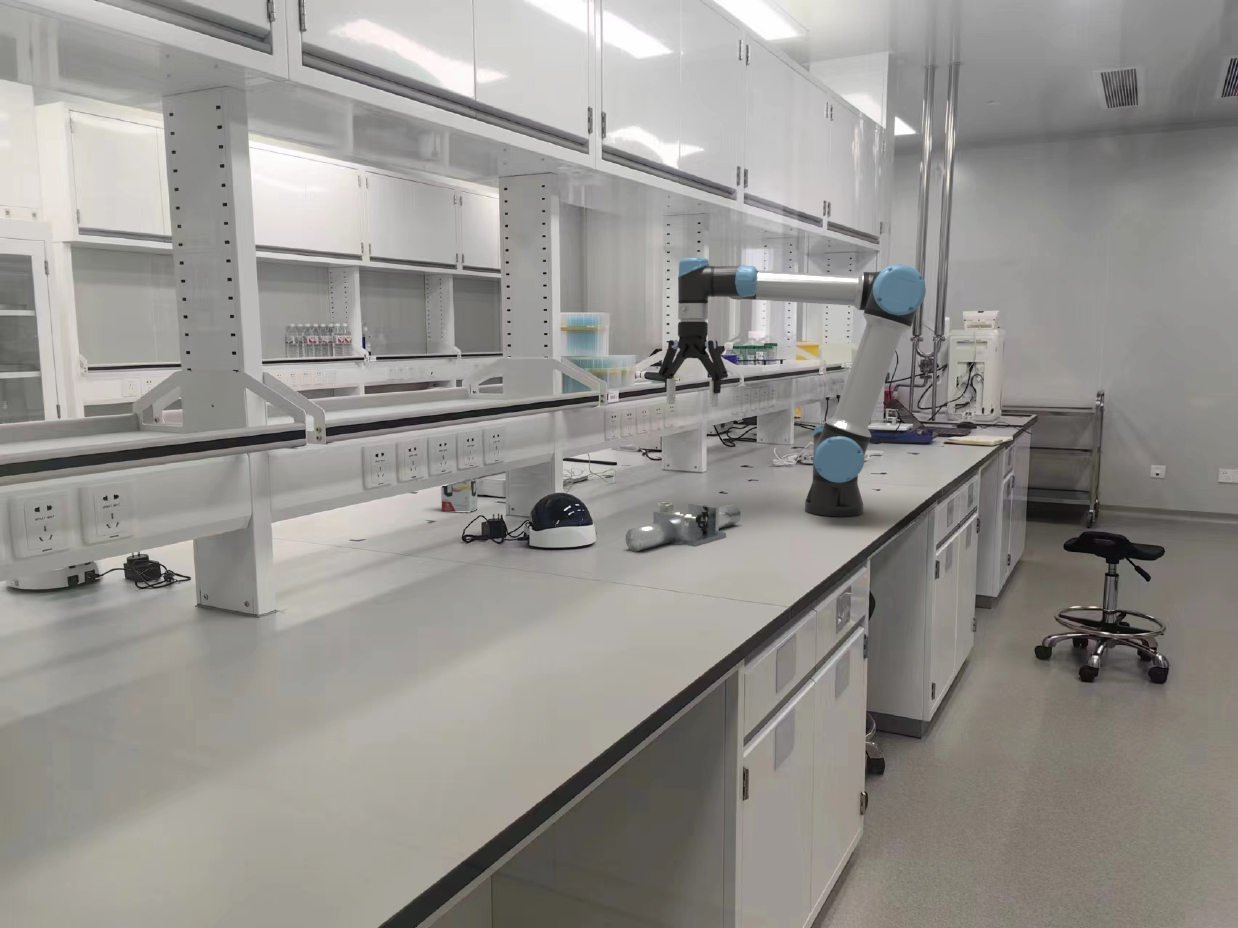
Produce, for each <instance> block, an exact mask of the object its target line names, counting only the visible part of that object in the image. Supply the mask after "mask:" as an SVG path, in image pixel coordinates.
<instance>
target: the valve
mask: <svg viewBox="0 0 1238 928" xmlns="http://www.w3.org/2000/svg"><path fill="white" fill-rule="evenodd" d="M702 505H703V508H704V510H702V512H701V513H699V515H696V517H692V515H689V514H685V515H684V514H682V511H676V512H673V511H674V504H673V503H672V502H668V501H665V502H664V501H663V502H662V501H661V502H657V503H656V511H660V512H666V513H671V514H677V515H683V516H685V520H684V522H685V523H687V524H688V523H691V522H692V521H696V523H698V527H699V528H701V531H702V532H703V533H707V528H708V519H709V515H708V511H709V508H708V506H709V505H708V504H702ZM707 505H708V506H707ZM700 523H701V524H703V526H701V525H700Z"/></svg>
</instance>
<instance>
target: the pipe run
mask: <svg viewBox="0 0 1238 928" xmlns="http://www.w3.org/2000/svg"><path fill="white" fill-rule="evenodd" d="M703 505H704V504H702V503H694V502H690V503H688V515H692V517H696V515H699V513H701V512H702V510H704V508H703ZM706 505H707V506H708V508H709V511H708V515H709V519H708V528H707V533H703V532H702V531H701V528H699V527H698V523H696V521H692V522H691V523H687V525H686V524H685V521H684V520H685V516H686V515H684V514H683V515H684V516H683V515H677V514H671V513H666V512H660V511H658V510H656V511H653V523H650V524H646V525H645V524H644V525H642V526H637V527H634V528H630V529H628V531H626V534H625V539H624V540H625V543H626V546H627V547H628V549H629V550H630V551H631V552H632V551H633V552H639V551H643V550H646V549H650V548H655V547H658V546H661V545H664V544H667V543H669V544H672V545H673V544H674V545H679V546H682V545H686V546H692V547H697V546H700V545H705V544H708V543H710V542H714V541H717V540H721V539H724V538H727V533H726V532H722V531H719V529H722V528H726V527H729V526H730V527H731V526H732V525H733V526H734V525H736V524H738V523H739V521H741V517H742V515H741V511H740V508H739V507H738V506H737V505H735V504H732V503H731V504H727V505H723V506H714V505H713V506H712V505H708V504H706ZM700 525H701V526H703V524H701V523H700Z"/></svg>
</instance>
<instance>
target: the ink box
mask: <svg viewBox="0 0 1238 928" xmlns="http://www.w3.org/2000/svg"><path fill="white" fill-rule="evenodd" d="M440 490H441V491H440V495H441V498H440V499H441V512H445V511H473V510H474V509H476V508H477V509H478V479H477V480H474V481H471V482H463V483H461V484H458V485H450V486H442V487H440Z"/></svg>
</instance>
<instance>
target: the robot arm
mask: <svg viewBox="0 0 1238 928" xmlns="http://www.w3.org/2000/svg"><path fill="white" fill-rule="evenodd" d="M677 280H678V281H677V284H678V285H677V287H678V288H677V290H678V292H677V297H678V298H677V299H678V301H677V303H678V305H677V306H678V309H677V311H678V312H677V320H679V322H678V323H677V336H678V340H677V339H670V340H669V341H668V346H667V350H666V353H665V355H664V358H663V360H662V363H661V365H660V368H659V370H658V374H657V375H658V376H661V377H662V378H664V390H665V391H666V405H675V404H676V385H677V384H676V383H677V382H676V378H675V375H676V373H677V372H678V371H679V369H680V368H681V366H682V365H683V364H684V362H685V360H687V359H698V360H699V361H700V362H701V364H702V365H703V367H704V369H705V370H706V371H707V373H708V375H709V376H710V378H711V380H709V395H708V396H709V397H708V401H709V403H708V407H709V408H715V407H719V394H721V388H722V387H721V386H722V385H721V384H722V380H724V379H727V378H728V377H729V374H728V371H727V370H726V369H727V368H726V366H725V364H724V362H723V361H724V360H723V358H722V355H721V353H720V351H719V345H718V340H716V339H715V340H708V341H707V337H708V334H709V332H708V331H709V330H708V329H709V323H708V322H707V320H708V319H709V298H710V297H712V298H715V297H717V298H718V297H720V298H722V297H725V298H727V297H728V298H729V299H732V300H737V301H738V300H750V301H753V300H754V301H755V300H757V301H772V302H786V303H787V302H789V303H791V302H792V303H805V304H821V305H838V306H853V307H854V308H856V310H857V311H863V314H862V315H863V317H864V319H865V323H866V325H865V327H864V329H863V333H862V336H861V338H860V342H859V344H858V348H857V349H856V353H855V355H854V358H853V361H852V364H851V367H850V369H849V373H848V375H847V379H846V381H845V384H844V387H843V390H842V391H841V395H840V398H839V401H838V404H837V407H836V410H835V412H834V415H833V416H832V417H830V418H829V419H827V420H825V422H824V424H821V425H820V424H819V425H816V426H815V427H814V431H813V434H812V437H813V450H812V451H813V453H812V454H813V455H812V457H813V458H812V482H811V485H810V488H809V490H808V493H807V496H806V499H805V502H804V511H805V512H808V514H809V513H810V514H813V515H816V516H817V515H818V516H819V515H820V516H827V517H854V516H860V515H862V514H863V513H864V502H863V498H862V495H861V491H860V487H859V484H858V483H859V480H858V477H859V475H860V473H861V471H862V469H863V467H864V466H865V465H864V464H865V455H866V452H867V449H868V447H869V444H870V440H871V438H872V434H871V432H870V430H869V425H870V422H871V420H872V417H873V414H874V411H875V408H876V406H877V403H878V400H879V397H880V395H881V391H882V389H883V387H884V384H885V381H886V378H887V376H888V373H889V370H890V367H891V364H892V361H893V358H894V356H895V353H896V351H897V347H898V345H899V342H900V339H901V336H902V334H903V333H904V332H906V331H908V330H910V329H911V328H912V326H913V323H914V320H915V317H916V315H917V313H918V309H919V307H921V305H922V304H923V301H925V297H926V292H927V290H926V289H927V288H926V282H925V280H924V277H923V276H922V274H921V273H920V272H919V271H918V270H917V269H916V268H914V267H912V266H910V265H906V264H900V263H899V264H892V265H889V266H887V267H885V268H884V269H883V270H881V271H861V272H860V273H859V274H858V275H850V274H833V273H832V274H831V273H830V274H829V273H812V272H791V271H773V270H772V271H771V270H770V271H769V270H758V268H757V267H756V266H754V265H744V264H741V265H725V266H724V265H721V266H719V265H718V266H714V265H710V261H709V259H708V258H706V257H685V258H682V259H681V260H680V261H679V264H678V276H677ZM678 349H679V350H678ZM706 349H707V350H708V352H707V350H706ZM677 351H678V352H677Z"/></svg>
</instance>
